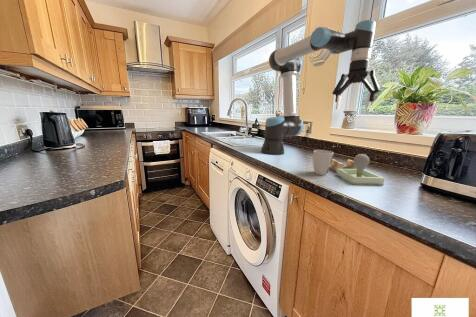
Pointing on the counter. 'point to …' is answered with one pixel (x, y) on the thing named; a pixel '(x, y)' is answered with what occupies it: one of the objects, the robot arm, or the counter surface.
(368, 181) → the dish
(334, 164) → the holder
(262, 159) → the counter surface
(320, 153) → the cup
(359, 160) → the light bulb
